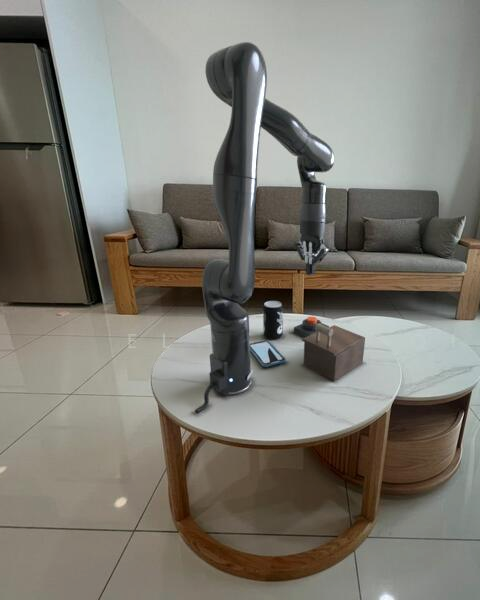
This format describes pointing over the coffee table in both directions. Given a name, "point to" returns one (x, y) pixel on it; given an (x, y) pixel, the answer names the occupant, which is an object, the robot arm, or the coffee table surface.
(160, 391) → the coffee table surface
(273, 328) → the beverage can
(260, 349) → the smartphone
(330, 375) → the keepsake box
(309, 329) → the button base
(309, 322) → the button
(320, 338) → the lid
